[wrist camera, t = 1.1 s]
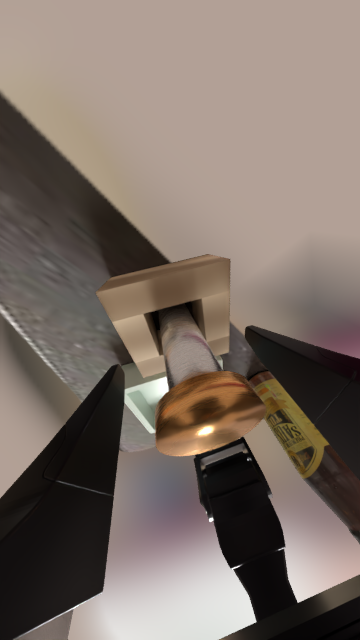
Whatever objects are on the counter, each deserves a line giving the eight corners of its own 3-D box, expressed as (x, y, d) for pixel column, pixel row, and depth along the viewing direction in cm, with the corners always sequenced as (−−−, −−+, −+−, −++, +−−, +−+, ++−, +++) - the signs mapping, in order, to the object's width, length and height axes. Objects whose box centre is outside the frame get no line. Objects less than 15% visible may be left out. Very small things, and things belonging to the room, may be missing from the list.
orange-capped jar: (193, 320, 16) (258, 433, 6) (157, 330, 15) (171, 464, 6) (187, 284, 13) (276, 381, 4) (144, 295, 13) (137, 427, 4)
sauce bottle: (248, 372, 24) (483, 682, 7) (278, 366, 25) (545, 624, 8) (240, 393, 27) (386, 637, 10) (267, 387, 28) (439, 600, 12)
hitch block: (213, 330, 17) (228, 352, 14) (144, 349, 16) (143, 377, 13) (207, 254, 12) (230, 259, 9) (110, 277, 12) (95, 292, 8)
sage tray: (214, 388, 24) (223, 409, 21) (150, 409, 23) (150, 433, 21) (210, 340, 18) (222, 359, 15) (121, 365, 17) (115, 392, 14)
